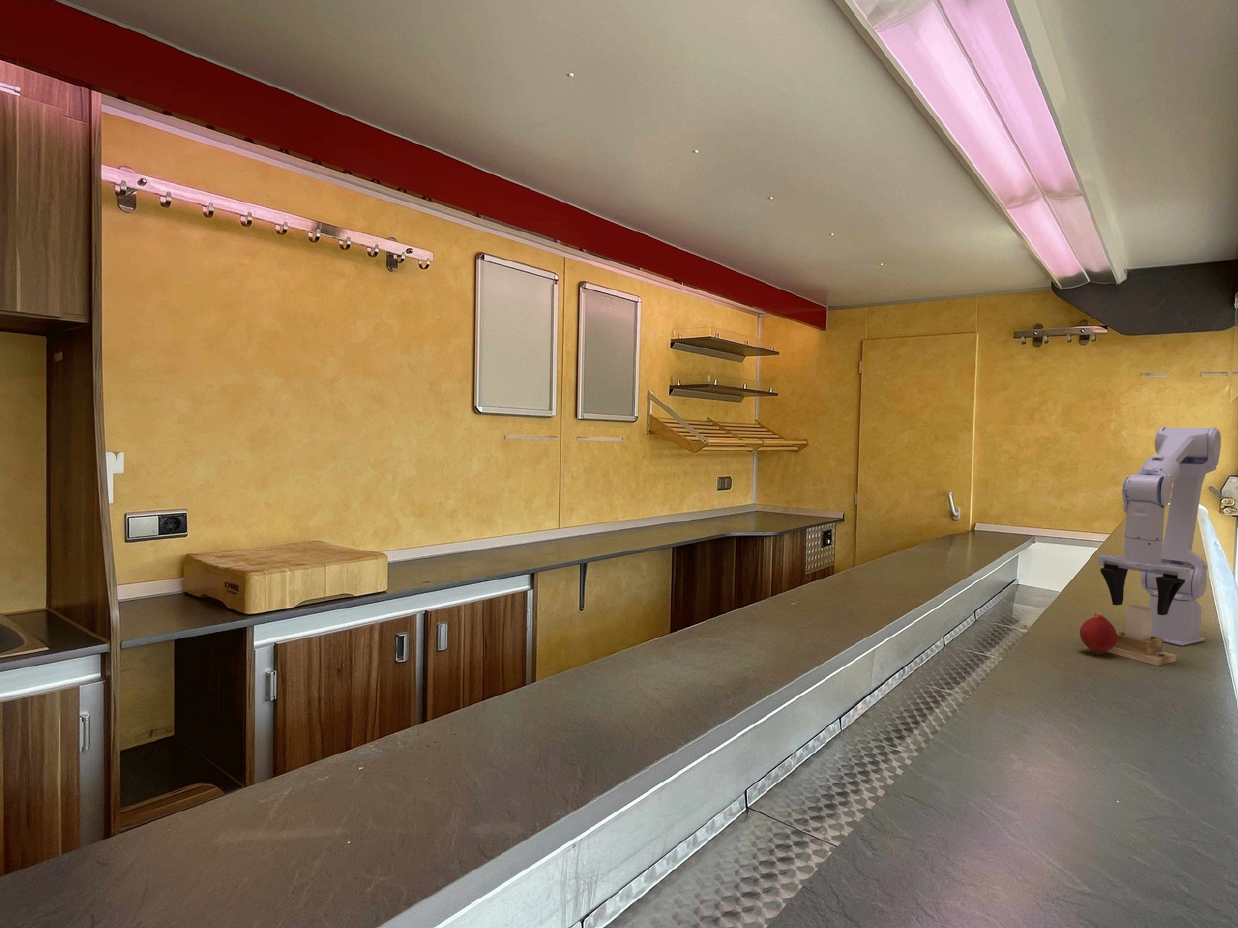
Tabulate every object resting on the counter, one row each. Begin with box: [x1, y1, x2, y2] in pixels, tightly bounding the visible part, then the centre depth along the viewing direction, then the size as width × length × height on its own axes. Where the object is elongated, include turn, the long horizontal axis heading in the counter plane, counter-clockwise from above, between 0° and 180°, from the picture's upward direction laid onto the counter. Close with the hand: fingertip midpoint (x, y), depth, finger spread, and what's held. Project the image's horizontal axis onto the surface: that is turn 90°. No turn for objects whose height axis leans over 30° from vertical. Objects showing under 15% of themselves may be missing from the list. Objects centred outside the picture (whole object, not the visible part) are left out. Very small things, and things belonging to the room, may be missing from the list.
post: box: [1124, 604, 1153, 641], centre depth 132 cm, size 3×3×8 cm
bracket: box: [1105, 631, 1177, 667], centre depth 132 cm, size 6×10×4 cm, turn 27°
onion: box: [1079, 611, 1118, 655], centre depth 132 cm, size 6×6×8 cm
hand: (1139, 609), depth 131 cm, fingers open, 7 cm apart
